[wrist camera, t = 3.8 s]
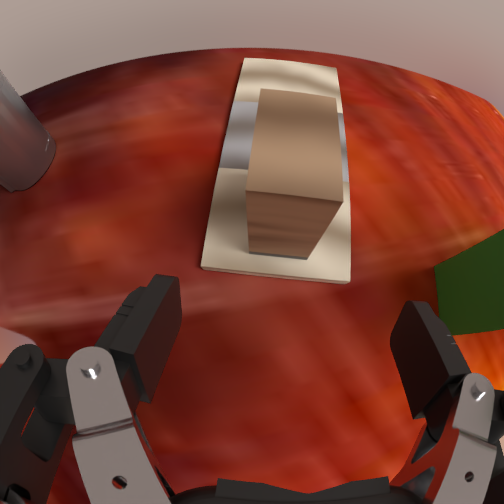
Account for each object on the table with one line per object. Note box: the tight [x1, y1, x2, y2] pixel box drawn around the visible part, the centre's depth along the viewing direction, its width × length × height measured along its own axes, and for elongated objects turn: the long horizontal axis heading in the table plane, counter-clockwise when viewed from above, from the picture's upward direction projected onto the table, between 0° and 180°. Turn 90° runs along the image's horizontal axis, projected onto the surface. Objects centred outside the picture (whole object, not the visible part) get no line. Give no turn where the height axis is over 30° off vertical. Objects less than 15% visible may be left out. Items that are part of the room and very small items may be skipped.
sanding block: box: [245, 88, 344, 260], centre depth 20 cm, size 8×5×11 cm, turn 174°
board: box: [201, 58, 351, 284], centre depth 29 cm, size 30×13×1 cm, turn 174°
